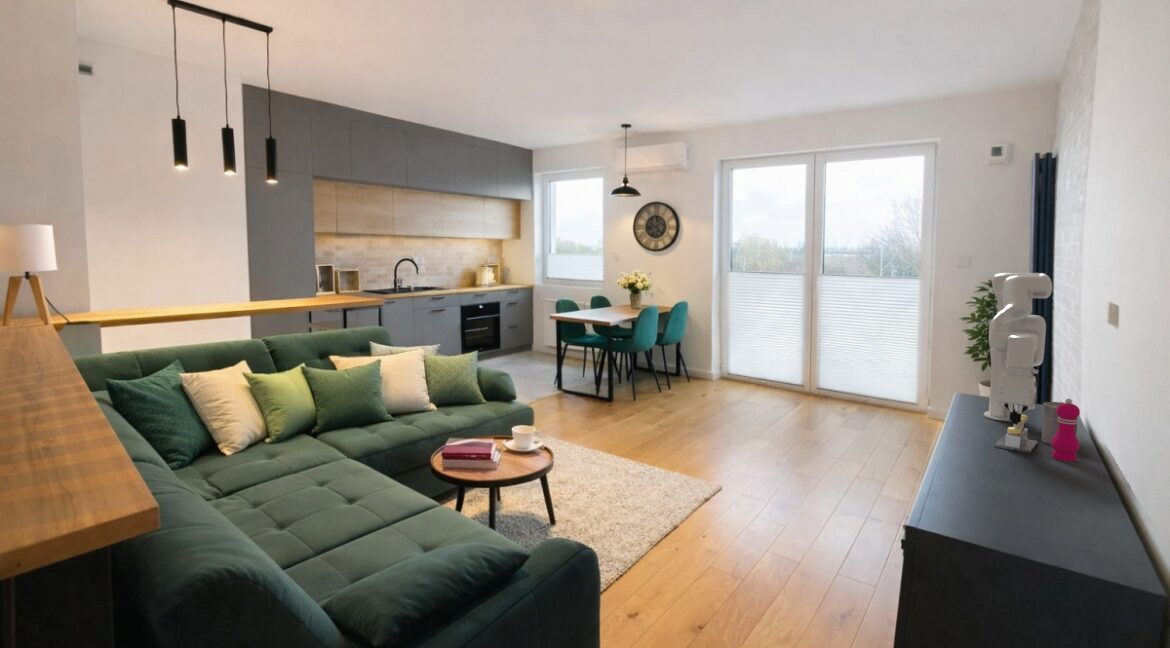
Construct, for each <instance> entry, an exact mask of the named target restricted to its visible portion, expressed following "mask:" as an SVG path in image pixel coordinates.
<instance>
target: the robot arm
mask: <svg viewBox="0 0 1170 648" xmlns="http://www.w3.org/2000/svg"><path fill="white" fill-rule="evenodd" d="M991 282H992V286H991V287H992V290H993V293H994V295H995V298H996V301H997V309H996V311H997V313H996V314H995V315H994V316H993V317H992V319H991V321H990V324H989V328H988V344H989V348H990V350H989V354H990V363H991V365H990V366H991V368H990V369H991V372H990V373H991V374H990V388H989V399H988V401H989V403H988V411H985V412H984V413H983V416H984V417H985V418H987V419H990V420H995V421H1000V422H1011V425H1014V424H1015V425H1017V424H1018V423H1019V422H1021V414H1023V413H1024V412H1025V411H1027V410H1036V409H1037V408H1036V402H1037V379H1036V376H1035V374H1036V375H1038V373H1039V370H1038V369H1035V368H1034V367H1039V366H1041V365H1042V363H1043V362H1044V357H1045V356H1044V355H1045V348H1046V347H1045V343H1046V332H1047V330H1046V329H1047V324H1046V320H1045V318H1044V317H1043V316H1041V315H1037V314H1032V312H1033V301H1032V300H1033V299H1048V298H1049V297H1050V296H1051V294H1052V292H1053V283H1052V279H1051V277H1049V275H1047V273H1043V272H1002V273H1001V272H1000V273H996V274H995V275H994V276H993V277H992V280H991Z"/></svg>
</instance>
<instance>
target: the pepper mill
mask: <svg viewBox="0 0 1170 648" xmlns="http://www.w3.org/2000/svg"><path fill="white" fill-rule="evenodd" d="M1080 411H1081V410H1080V408H1079V406H1078V405H1076V404H1073V400H1072V398H1066V399H1065V401H1064V402H1062V404H1060V405H1059V406H1058V407H1057V410H1056V412H1057V414H1058V415H1059V417H1058V420H1057V421H1058V422H1059V428H1058V431H1057V433H1056V434H1055V436H1054V437H1053V439H1052V443H1051V444H1050V445H1051V448H1052V449H1053V450H1052V453H1051V455H1052V458H1054V459H1056V460H1059V461H1064V462H1077V459H1078V458H1077V454H1076V453H1077V452H1079V450H1080V441H1079V440H1078V438H1077V433H1076V434H1075V424H1077V425H1078V417H1080V415H1081V412H1080ZM1076 418H1077V419H1076Z"/></svg>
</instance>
